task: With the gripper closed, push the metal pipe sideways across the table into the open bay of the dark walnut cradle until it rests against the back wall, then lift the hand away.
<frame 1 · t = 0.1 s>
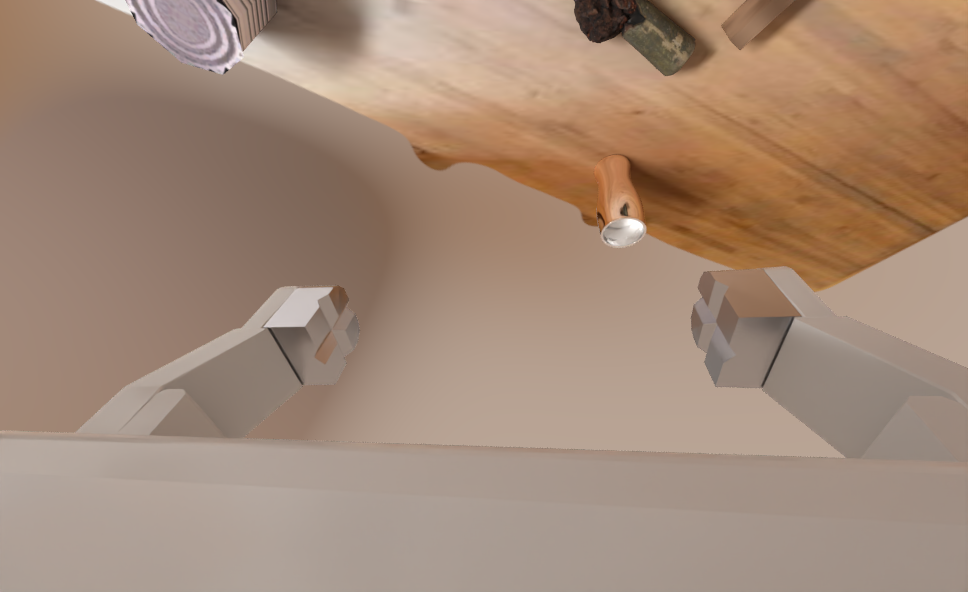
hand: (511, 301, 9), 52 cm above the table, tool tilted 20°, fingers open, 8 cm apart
beer glass: (611, 168, 67), on the table
metal pipe: (623, 12, 49), on the table
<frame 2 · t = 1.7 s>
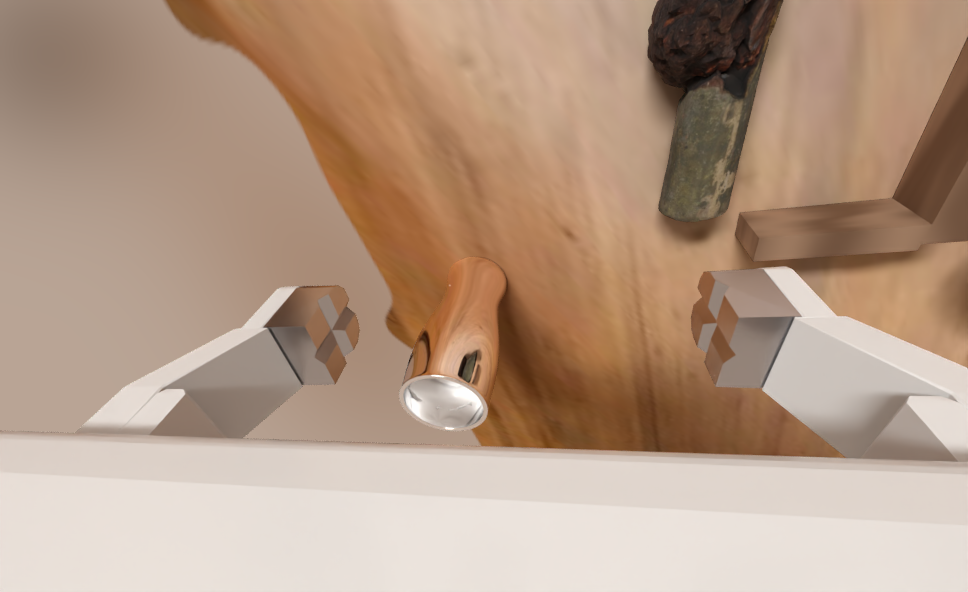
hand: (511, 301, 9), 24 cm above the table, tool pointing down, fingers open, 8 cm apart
beer glass: (477, 280, 40), on the table
metal pipe: (694, 70, 26), on the table
walnut cradle: (875, 36, 23), on the table
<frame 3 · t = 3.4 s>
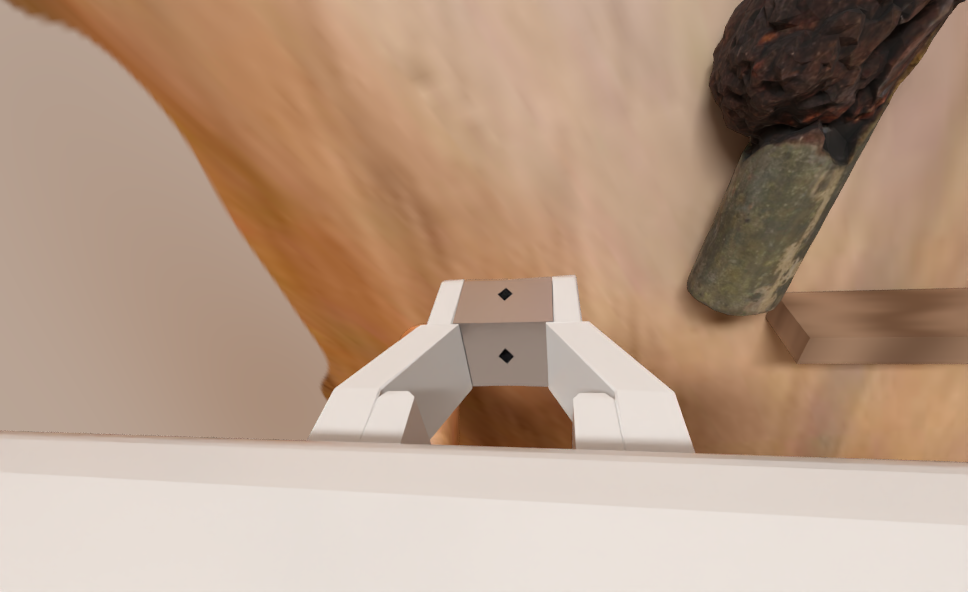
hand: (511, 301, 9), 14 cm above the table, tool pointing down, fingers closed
beer glass: (436, 349, 31), on the table
metal pipe: (761, 113, 19), on the table
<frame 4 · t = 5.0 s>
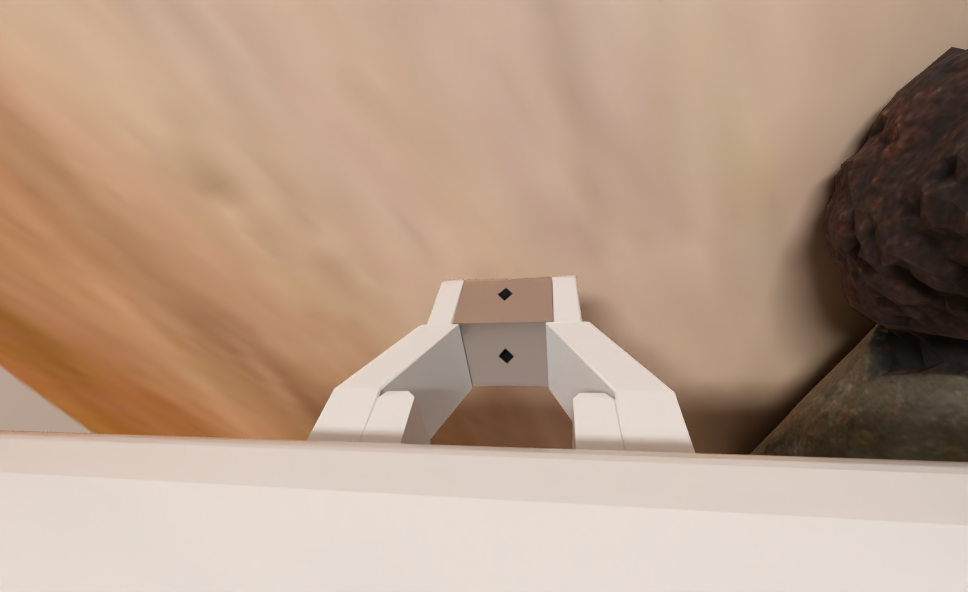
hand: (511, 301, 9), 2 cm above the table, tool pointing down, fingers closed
metal pipe: (896, 262, 10), on the table
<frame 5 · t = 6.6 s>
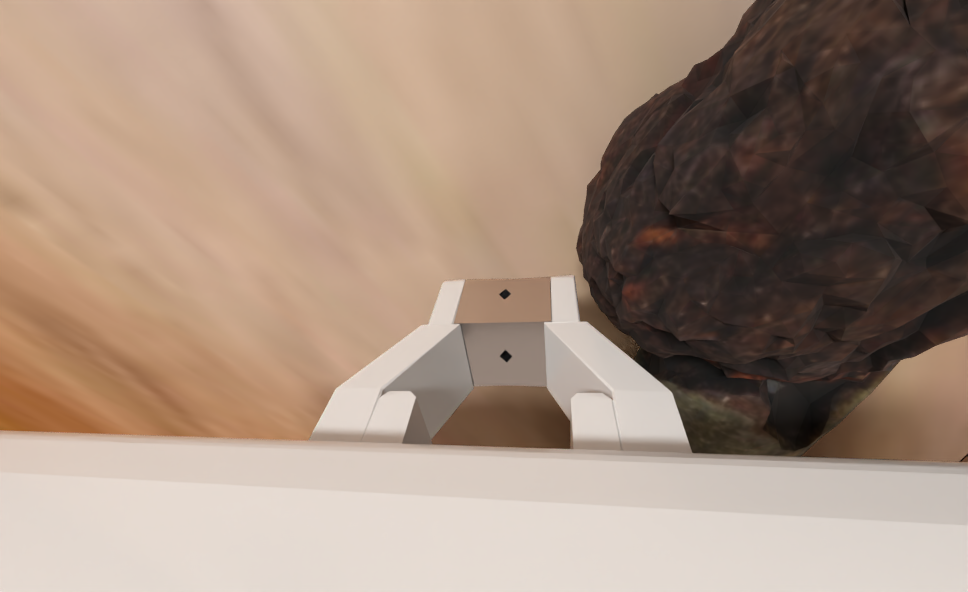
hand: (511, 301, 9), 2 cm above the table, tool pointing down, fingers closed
metal pipe: (679, 279, 11), on the table, touching gripper
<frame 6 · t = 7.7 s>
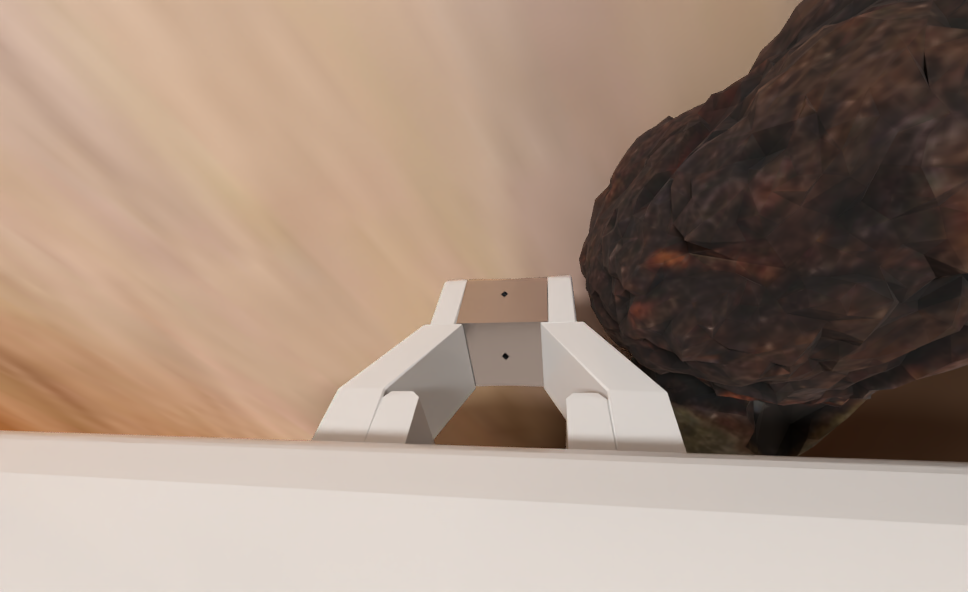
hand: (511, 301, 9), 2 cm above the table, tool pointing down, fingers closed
metal pipe: (671, 294, 11), on the table, touching gripper, walnut cradle
walnut cradle: (691, 250, 10), on the table
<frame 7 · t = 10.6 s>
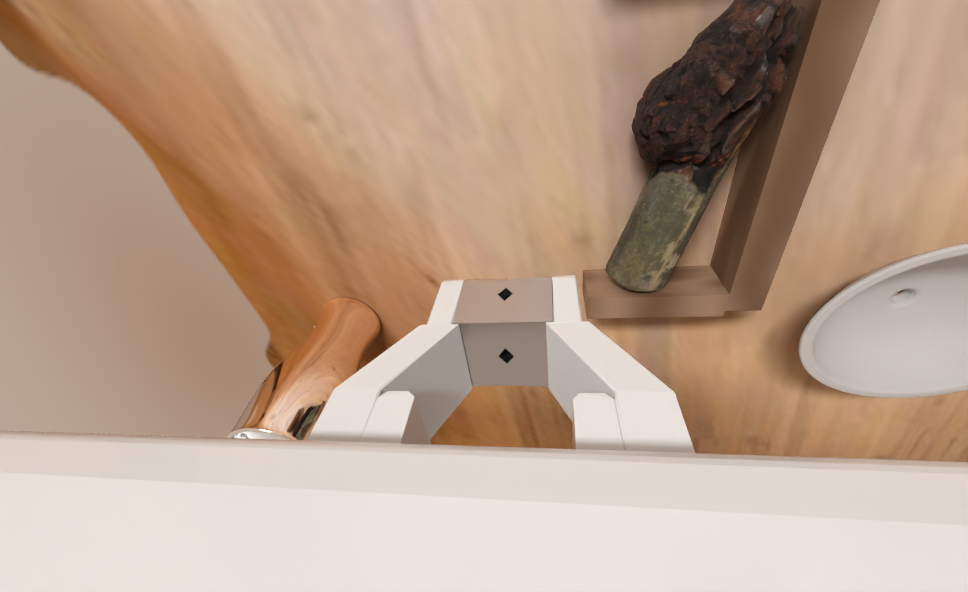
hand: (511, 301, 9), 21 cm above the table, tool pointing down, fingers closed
beer glass: (352, 319, 40), on the table
metal pipe: (666, 151, 27), on the table
dish: (892, 288, 31), on the table
walnut cradle: (670, 128, 26), on the table
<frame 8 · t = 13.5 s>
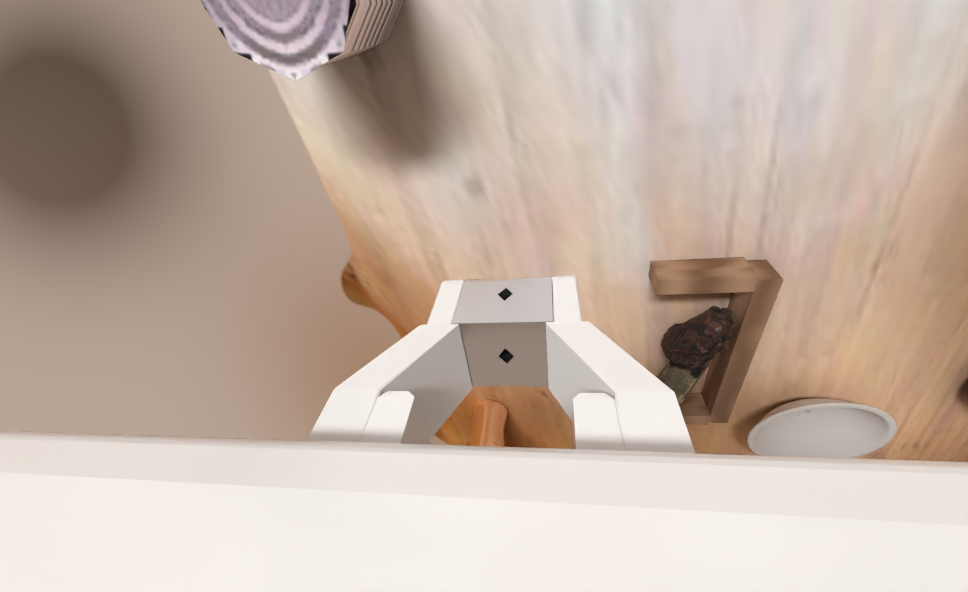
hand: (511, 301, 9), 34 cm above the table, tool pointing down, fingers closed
beer glass: (490, 409, 67), on the table
metal pipe: (678, 347, 54), on the table
dish: (799, 406, 58), on the table
walnut cradle: (679, 340, 53), on the table
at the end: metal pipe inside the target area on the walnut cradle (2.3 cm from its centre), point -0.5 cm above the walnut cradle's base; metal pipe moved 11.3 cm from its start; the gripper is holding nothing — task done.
